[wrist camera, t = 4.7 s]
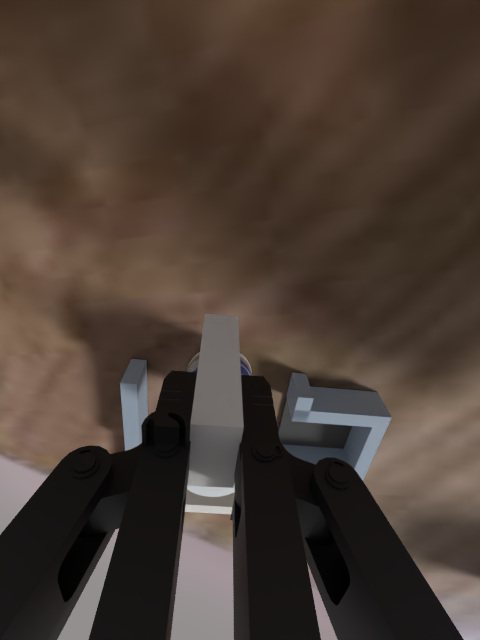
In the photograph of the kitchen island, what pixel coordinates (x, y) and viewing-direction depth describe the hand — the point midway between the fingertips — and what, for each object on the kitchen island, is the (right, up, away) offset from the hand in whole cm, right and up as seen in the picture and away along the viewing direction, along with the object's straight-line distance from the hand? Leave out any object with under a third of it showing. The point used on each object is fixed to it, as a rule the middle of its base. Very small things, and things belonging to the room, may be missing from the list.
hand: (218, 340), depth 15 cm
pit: (+8, -8, +15) cm, 19 cm away
